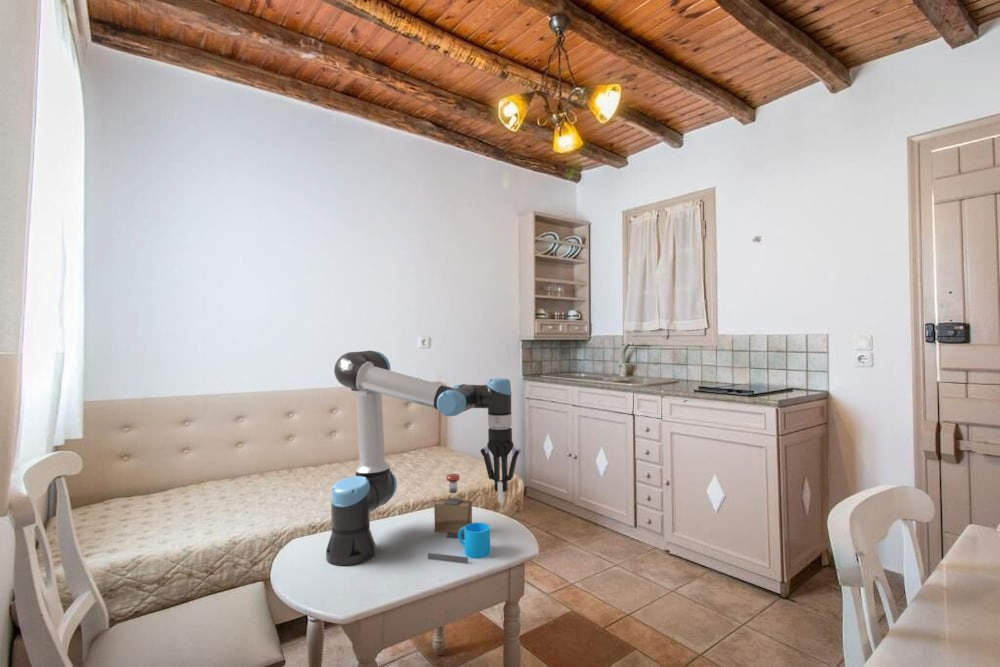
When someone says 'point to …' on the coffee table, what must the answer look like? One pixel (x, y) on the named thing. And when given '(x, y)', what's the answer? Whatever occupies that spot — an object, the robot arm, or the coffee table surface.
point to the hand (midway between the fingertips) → (501, 501)
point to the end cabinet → (452, 515)
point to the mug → (476, 540)
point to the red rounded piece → (452, 482)
